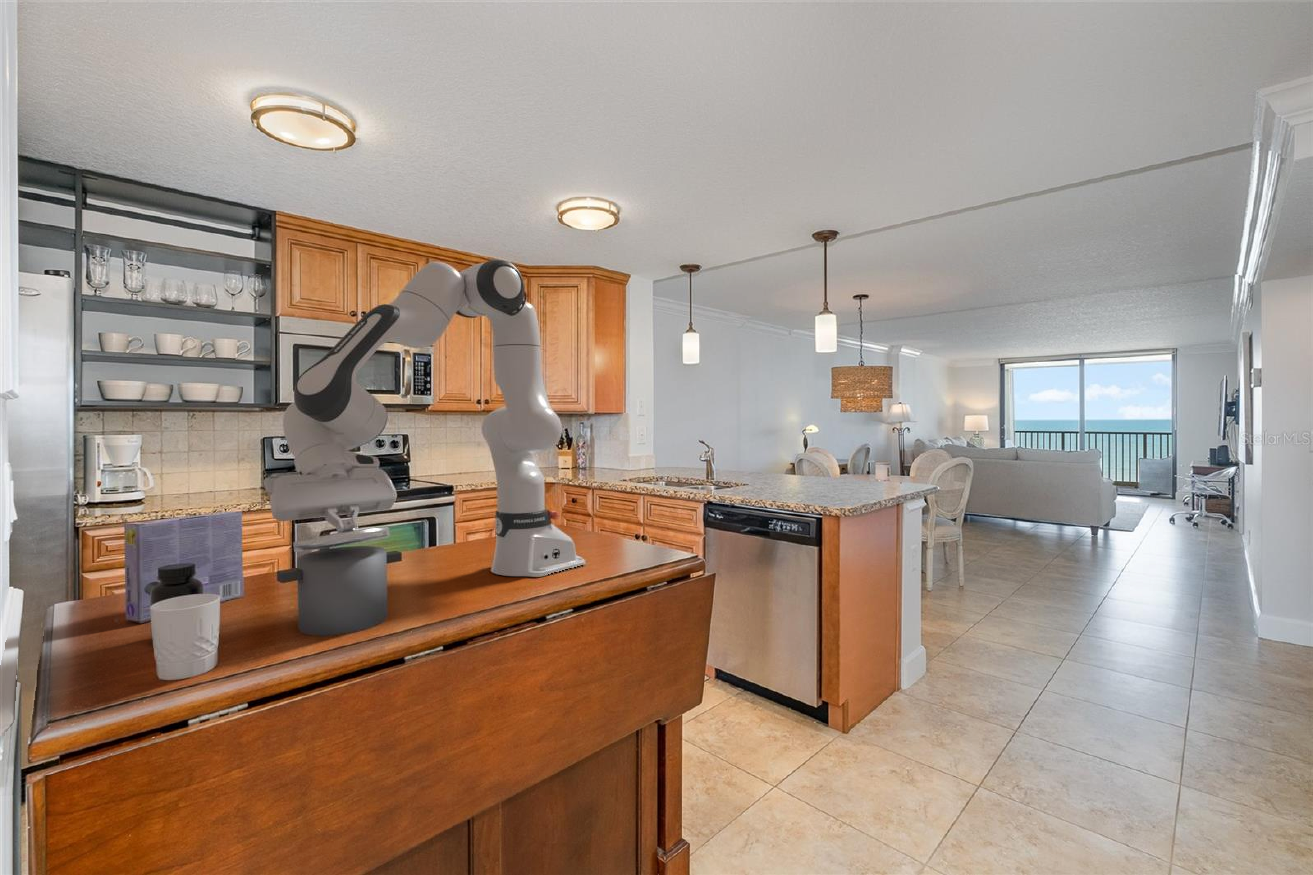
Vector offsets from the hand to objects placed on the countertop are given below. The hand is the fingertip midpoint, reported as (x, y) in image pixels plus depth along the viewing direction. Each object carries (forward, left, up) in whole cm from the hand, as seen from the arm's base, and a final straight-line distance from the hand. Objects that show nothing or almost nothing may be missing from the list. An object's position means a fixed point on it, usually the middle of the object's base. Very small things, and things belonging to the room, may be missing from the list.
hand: (348, 530), depth 103 cm
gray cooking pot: (0, -3, -17) cm, 17 cm away
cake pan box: (+21, -30, -17) cm, 41 cm away
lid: (0, -2, -3) cm, 3 cm away
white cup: (+22, +6, -17) cm, 29 cm away
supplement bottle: (+23, -11, -17) cm, 31 cm away
